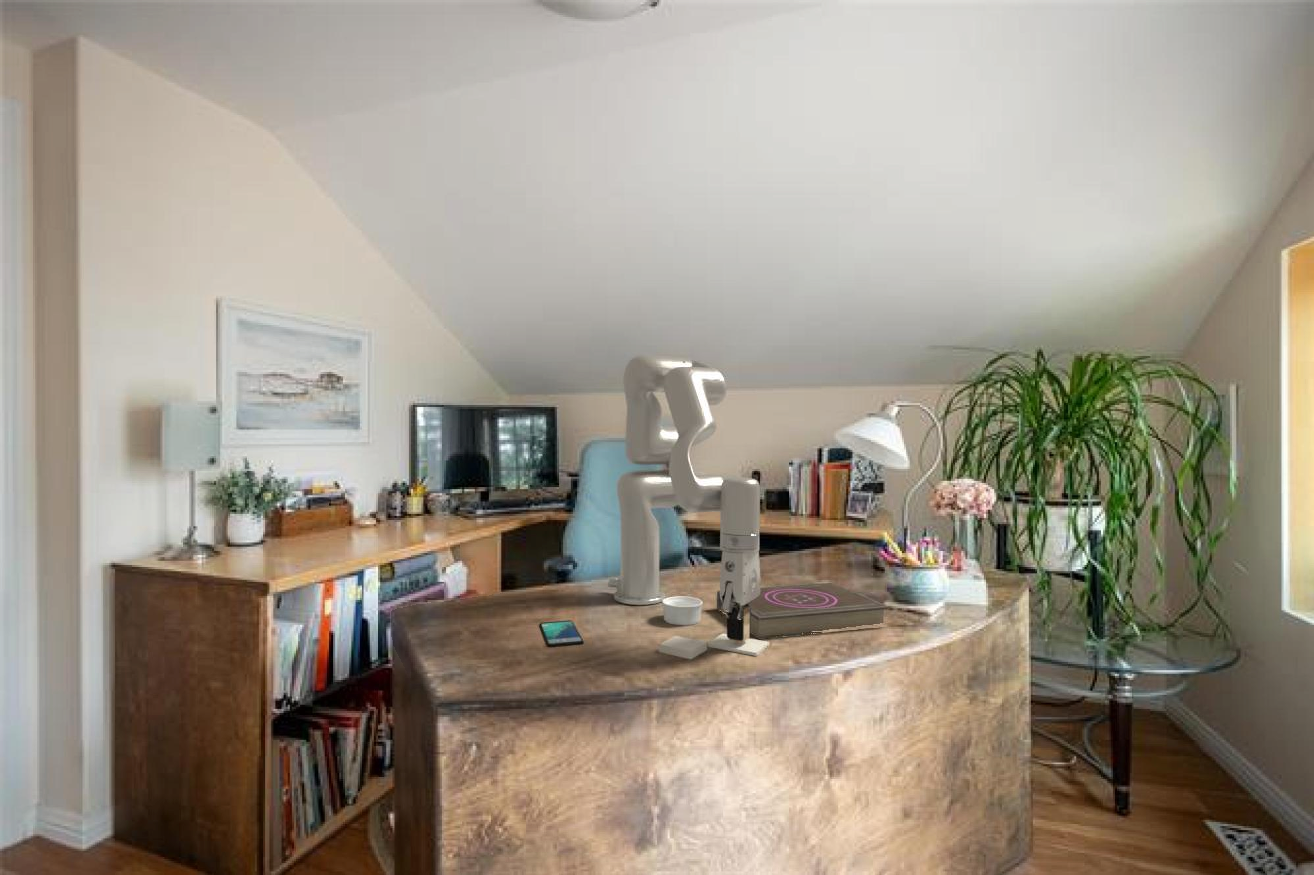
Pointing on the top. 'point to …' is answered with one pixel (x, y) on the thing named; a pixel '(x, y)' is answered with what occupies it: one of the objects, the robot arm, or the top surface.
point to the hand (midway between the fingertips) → (738, 635)
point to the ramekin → (682, 610)
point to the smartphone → (560, 633)
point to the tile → (683, 647)
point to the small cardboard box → (745, 622)
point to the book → (809, 610)
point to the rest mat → (739, 645)
